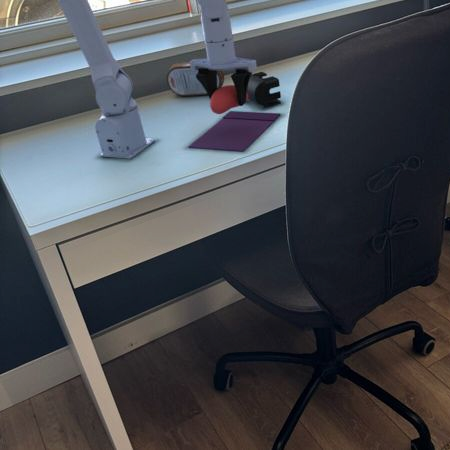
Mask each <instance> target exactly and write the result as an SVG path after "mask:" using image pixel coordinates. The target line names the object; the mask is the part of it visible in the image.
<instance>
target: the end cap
mask: <svg viewBox="0 0 450 450" xmlns="http://www.w3.org/2000/svg"><path fill="white" fill-rule="evenodd" d="M267 76H268V74H267V73H266V72H264V71H259V72H256V73H252V74H251V77H250V80H249V83H248V88H247V93H248V100H249V101H251V102H253V104H256V105H258V106H260V107H262V108H263V109H269V108H272V107H275V106H279V105H281V104H282V102H281V100H280V99H282V94H281V91H280V90H279V91H276V92H275V91H274V92H270V91H271V90H272V89H275V88H278V87H280V86H281V85H280V79H279V78H278V77H277V76H273V75H272V76H268V77H267Z"/></svg>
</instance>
